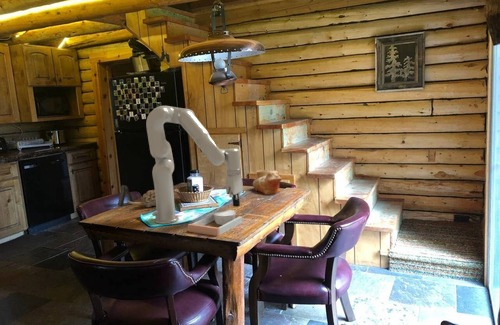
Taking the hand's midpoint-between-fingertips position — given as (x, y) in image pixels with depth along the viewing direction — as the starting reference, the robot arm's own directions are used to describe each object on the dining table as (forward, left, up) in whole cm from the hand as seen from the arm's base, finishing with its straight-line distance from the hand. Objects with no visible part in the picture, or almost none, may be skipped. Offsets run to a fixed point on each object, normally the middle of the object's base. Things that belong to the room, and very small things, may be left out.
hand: (236, 206), depth 211 cm
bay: (-1, -19, -6) cm, 20 cm away
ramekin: (-1, -11, -6) cm, 13 cm away
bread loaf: (-12, +58, -6) cm, 60 cm away
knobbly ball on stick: (-62, -4, -6) cm, 62 cm away
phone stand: (-79, -3, -6) cm, 80 cm away
